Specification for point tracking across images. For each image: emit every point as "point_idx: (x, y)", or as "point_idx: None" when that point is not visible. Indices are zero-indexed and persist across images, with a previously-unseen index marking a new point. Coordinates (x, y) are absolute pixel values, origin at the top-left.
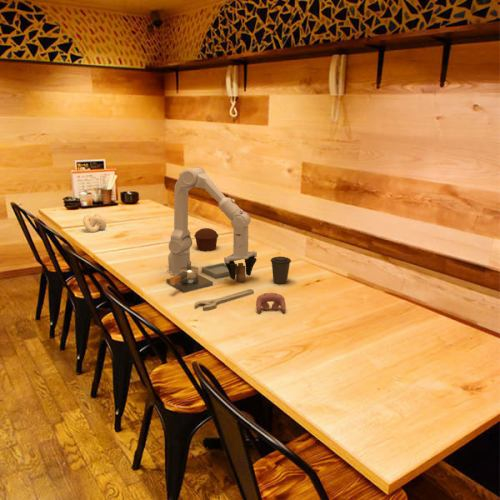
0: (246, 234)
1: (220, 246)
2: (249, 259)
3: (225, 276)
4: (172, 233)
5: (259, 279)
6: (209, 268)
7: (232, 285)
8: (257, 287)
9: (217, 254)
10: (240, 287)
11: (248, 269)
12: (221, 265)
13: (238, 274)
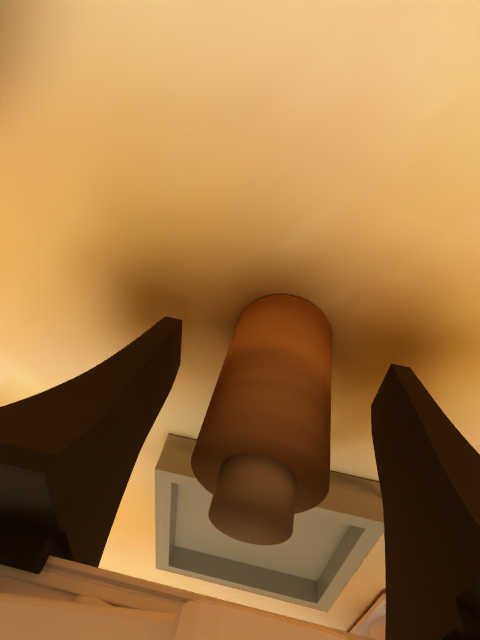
0: None
1: None
2: (70, 517)
3: None
4: None
5: (95, 226)
6: (276, 575)
7: (449, 321)
8: (315, 23)
9: None
10: (461, 215)
11: (152, 384)
12: (180, 554)
13: (330, 392)
